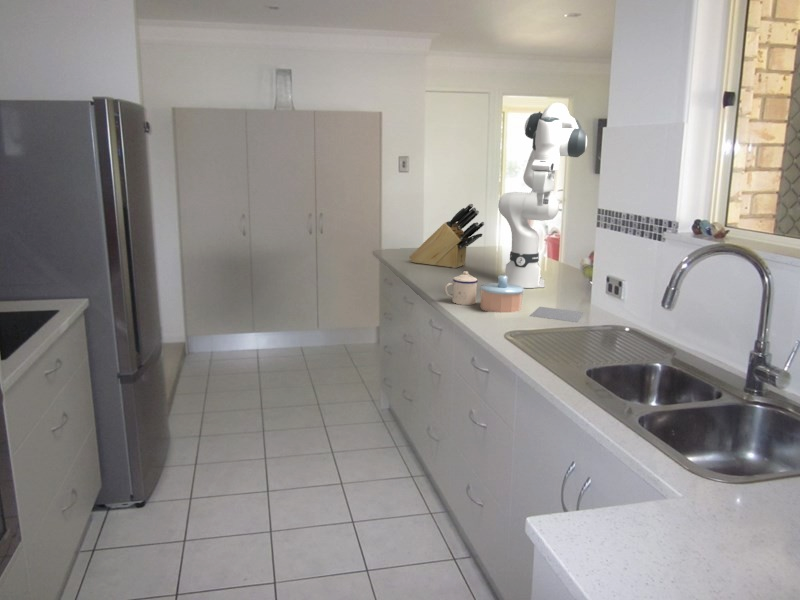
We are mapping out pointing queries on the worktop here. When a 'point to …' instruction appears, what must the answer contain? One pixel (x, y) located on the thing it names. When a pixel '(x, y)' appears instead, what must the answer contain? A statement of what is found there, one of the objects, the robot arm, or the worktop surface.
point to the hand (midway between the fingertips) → (542, 204)
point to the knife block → (449, 241)
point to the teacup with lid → (463, 289)
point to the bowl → (501, 302)
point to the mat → (557, 314)
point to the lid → (502, 287)
